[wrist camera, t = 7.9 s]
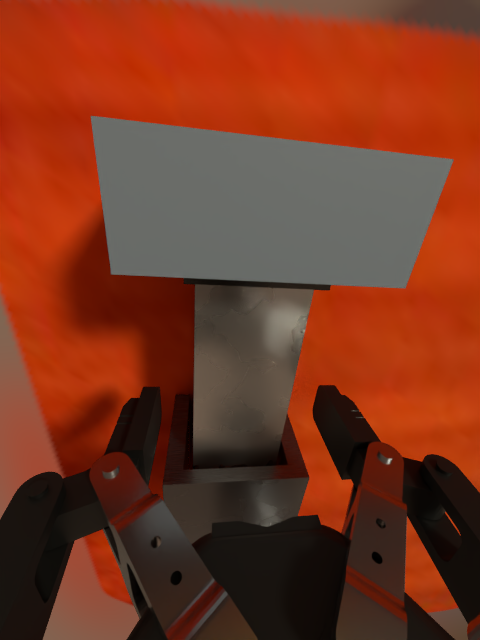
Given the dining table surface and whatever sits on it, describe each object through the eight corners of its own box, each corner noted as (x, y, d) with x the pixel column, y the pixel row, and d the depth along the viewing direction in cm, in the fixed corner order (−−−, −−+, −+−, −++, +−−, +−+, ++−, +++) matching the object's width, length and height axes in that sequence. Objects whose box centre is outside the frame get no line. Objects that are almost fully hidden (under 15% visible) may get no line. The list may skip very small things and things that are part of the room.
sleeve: (263, 478, 26) (281, 568, 20) (178, 483, 25) (168, 579, 19) (280, 393, 21) (309, 477, 15) (175, 394, 20) (162, 485, 14)
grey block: (325, 245, 16) (405, 288, 10) (153, 233, 15) (111, 274, 8) (342, 169, 15) (453, 159, 8) (148, 148, 13) (90, 116, 7)
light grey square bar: (262, 425, 22) (279, 496, 17) (190, 427, 21) (185, 502, 16) (301, 197, 15) (350, 204, 10) (191, 186, 14) (183, 189, 9)
